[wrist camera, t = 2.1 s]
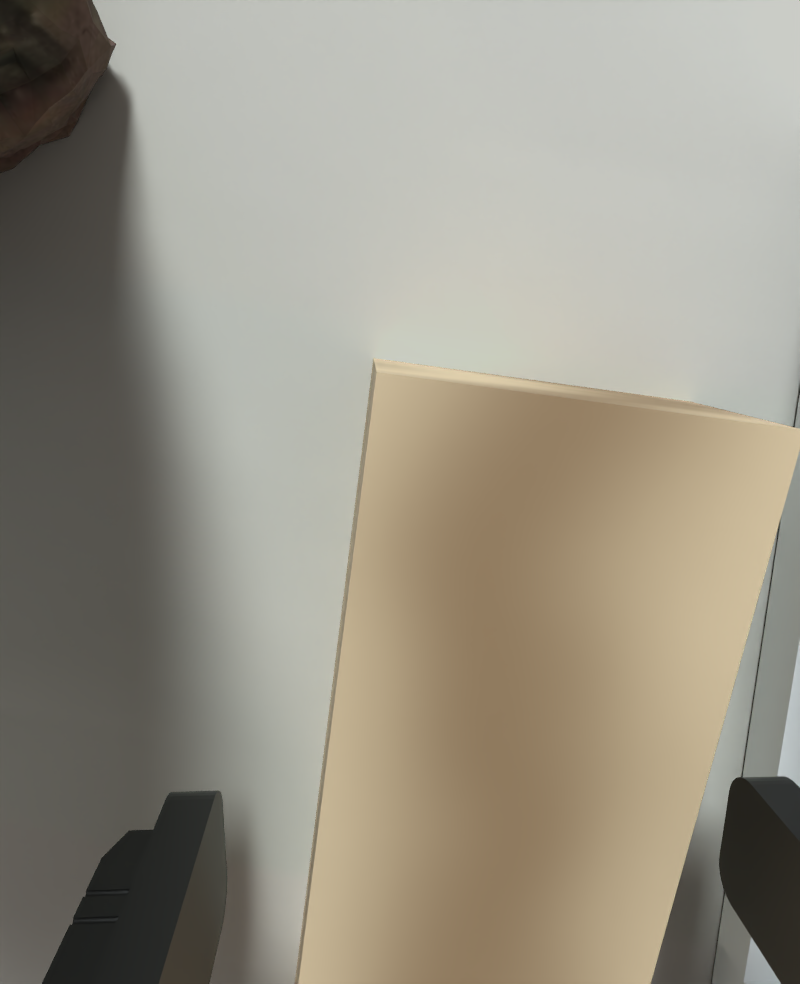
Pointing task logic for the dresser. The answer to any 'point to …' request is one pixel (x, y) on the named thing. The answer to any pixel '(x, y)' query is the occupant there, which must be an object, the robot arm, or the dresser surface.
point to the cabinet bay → (771, 723)
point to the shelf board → (530, 675)
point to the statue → (46, 71)
